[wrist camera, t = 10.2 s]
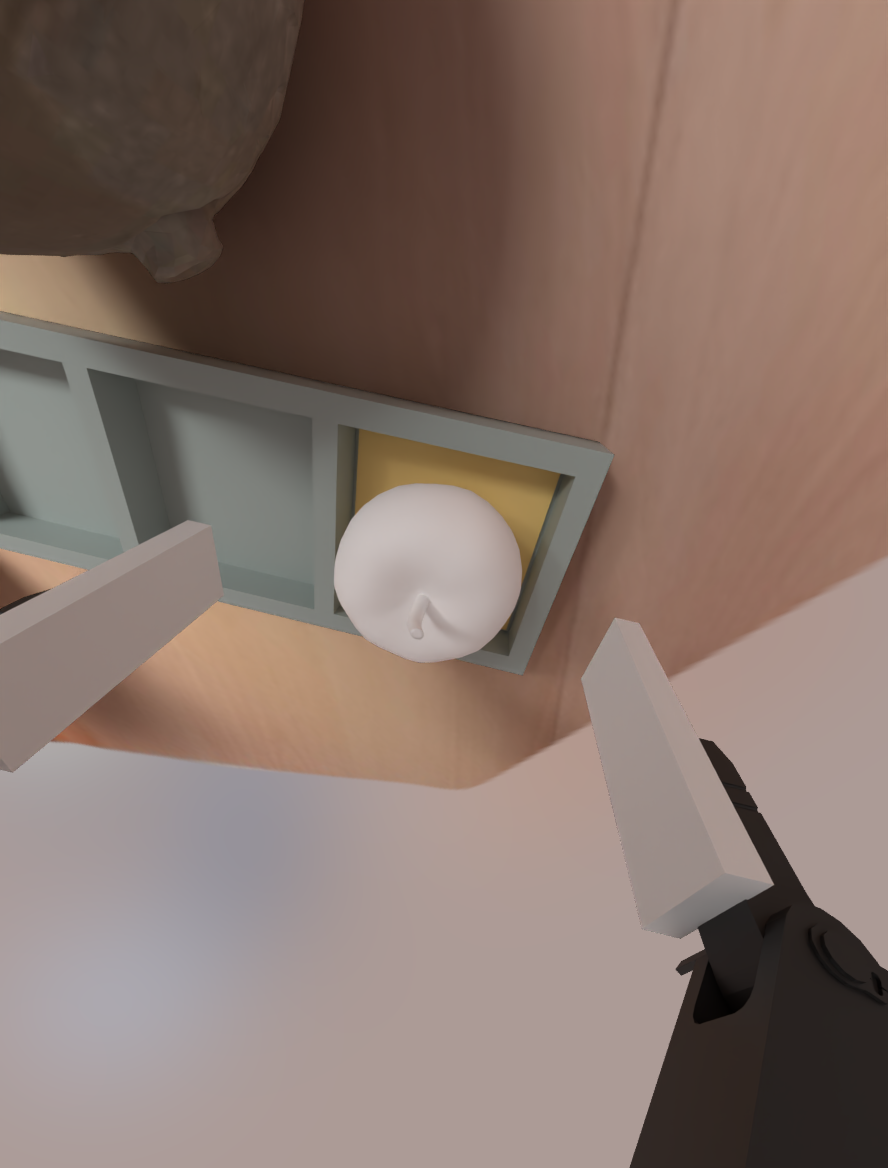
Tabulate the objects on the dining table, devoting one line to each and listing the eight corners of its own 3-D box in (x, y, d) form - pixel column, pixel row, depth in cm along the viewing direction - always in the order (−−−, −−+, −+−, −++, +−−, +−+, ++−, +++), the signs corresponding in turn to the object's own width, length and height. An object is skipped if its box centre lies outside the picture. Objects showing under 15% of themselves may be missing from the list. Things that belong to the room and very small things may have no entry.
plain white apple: (550, 546, 17) (581, 669, 10) (439, 621, 20) (403, 754, 13) (449, 422, 15) (397, 468, 8) (342, 527, 18) (239, 626, 11)
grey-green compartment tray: (-98, 289, 16) (-196, 276, 14) (598, 441, 15) (614, 454, 13) (15, 524, 22) (-41, 541, 20) (520, 645, 21) (521, 678, 19)
